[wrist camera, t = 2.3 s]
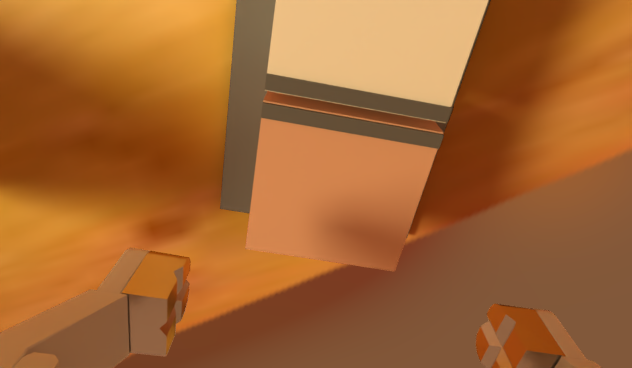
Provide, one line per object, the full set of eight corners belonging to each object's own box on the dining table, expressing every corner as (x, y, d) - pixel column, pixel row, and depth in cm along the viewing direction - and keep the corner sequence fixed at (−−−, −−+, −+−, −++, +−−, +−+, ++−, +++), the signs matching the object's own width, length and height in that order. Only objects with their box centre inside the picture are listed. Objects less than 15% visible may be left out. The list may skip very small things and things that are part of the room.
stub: (278, 67, 17) (263, 101, 13) (412, 91, 18) (444, 134, 13) (261, 187, 20) (244, 250, 15) (378, 206, 20) (395, 273, 16)
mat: (273, -418, 11) (271, -434, 11) (599, -329, 12) (610, -340, 12) (222, 203, 21) (220, 208, 21) (405, 232, 22) (406, 237, 21)
